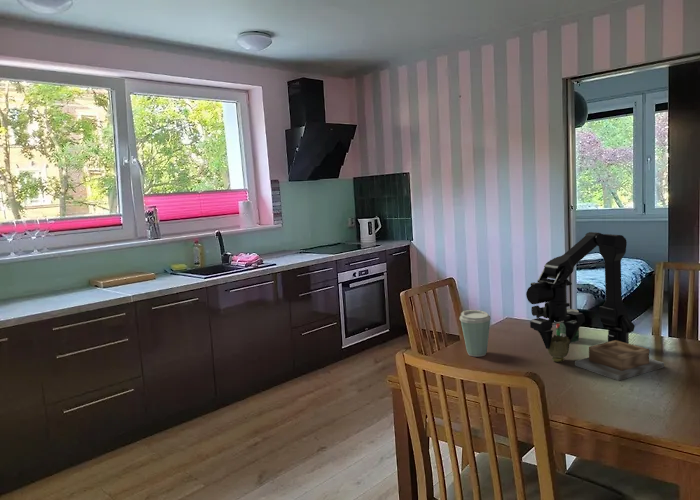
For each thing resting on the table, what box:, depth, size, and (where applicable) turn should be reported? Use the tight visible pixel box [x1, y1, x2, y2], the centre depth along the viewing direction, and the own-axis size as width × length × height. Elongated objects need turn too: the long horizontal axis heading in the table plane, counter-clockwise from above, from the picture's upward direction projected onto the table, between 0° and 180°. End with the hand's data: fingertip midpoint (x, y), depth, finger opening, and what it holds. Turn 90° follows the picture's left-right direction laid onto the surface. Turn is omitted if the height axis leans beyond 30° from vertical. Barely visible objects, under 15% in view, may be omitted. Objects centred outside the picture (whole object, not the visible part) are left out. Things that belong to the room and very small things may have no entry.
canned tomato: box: [555, 308, 580, 344], centre depth 197 cm, size 8×8×11 cm
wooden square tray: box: [574, 340, 665, 382], centre depth 167 cm, size 20×16×6 cm
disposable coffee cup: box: [458, 309, 492, 358], centre depth 187 cm, size 11×11×15 cm
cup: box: [547, 334, 571, 363], centre depth 176 cm, size 8×7×8 cm
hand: (558, 346), depth 175 cm, fingers open, 9 cm apart
